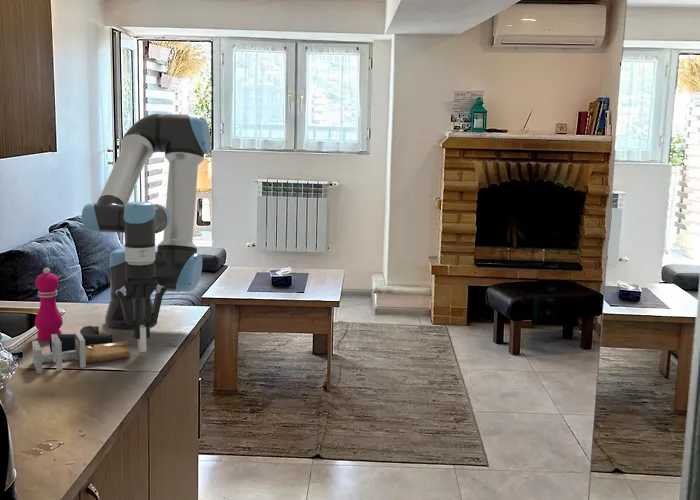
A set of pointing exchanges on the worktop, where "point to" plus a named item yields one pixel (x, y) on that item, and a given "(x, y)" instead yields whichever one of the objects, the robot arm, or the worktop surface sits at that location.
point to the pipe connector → (88, 334)
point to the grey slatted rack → (59, 353)
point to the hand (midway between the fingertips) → (142, 350)
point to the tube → (106, 351)
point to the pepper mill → (47, 306)
